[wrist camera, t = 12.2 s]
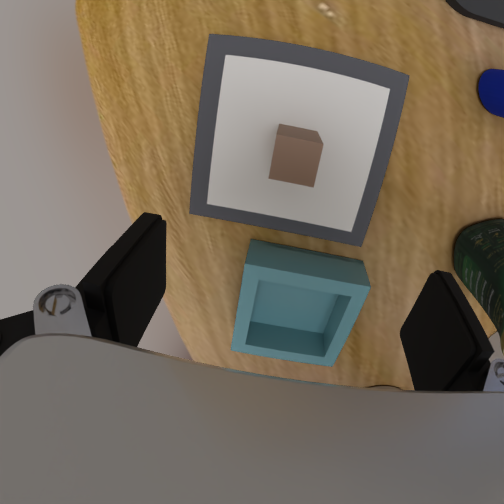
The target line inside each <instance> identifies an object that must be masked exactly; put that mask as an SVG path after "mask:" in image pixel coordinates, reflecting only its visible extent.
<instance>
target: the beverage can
mask: <svg viewBox="0 0 504 504" xmlns="http://www.w3.org/2000/svg"><path fill="white" fill-rule="evenodd" d="M479 95H480V99H481V101H482V103H483V105H484V107H485V108H486V109H487V110H488V111H489V112H490V113H492V114H494V115H497V116H500V117H503V118H504V70H499V69H489V70H487V71H485V72H484V73H483V74H482V76H481V78H480V81H479Z"/></svg>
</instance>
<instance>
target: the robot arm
mask: <svg viewBox="0 0 504 504" xmlns="http://www.w3.org/2000/svg"><path fill="white" fill-rule="evenodd" d="M165 289H166V221H165V220H162V217H161V215H157V214H152V213H146V212H144V213H143V214H142V215H141V216H140V217H139V218H138V219H137V220H136V221H135V222H134V223H133V224H132V225H131V226H130V227H129V228H128V230H127V231H126V232H125V233H124V234H123V235H122V236H121V237H120V238H119V239H118V240H117V241H116V243H115V244H114V245H113V246H111V247H110V248H109V249H108V251H106V253H105V254H104V255H103V256H102V257H101V258H100V259H99V260H98V262H97V263H96V264H95V265H94V266H93V267H92V269H91V270H90V271H89V272H88V273H87V274H86V275H85V277H84V278H83V279H82V280H81V281H80V282H79V284H78V285H77V286H76V287H72V286H70V285H63V284H60V285H54V286H51V287H48V288H46V289H44V290H43V291H41V292H40V293H39V294H38V295H37V297H36V298H35V300H34V305H33V311H29V312H26V313H22V314H18V315H15V316H11V317H8V318H4V319H1V320H0V504H504V359H500V358H498V359H494V360H493V361H492V362H491V363H490V361H489V358H490V357H491V356H492V354H493V353H494V352H495V351H494V349H493V347H492V345H491V343H490V341H489V339H488V337H487V335H486V333H485V331H484V329H483V328H482V326H481V324H480V322H479V320H478V318H477V316H476V315H475V313H474V311H473V309H472V307H471V306H470V304H469V302H468V300H467V299H466V297H465V295H464V294H463V292H462V290H461V289H460V287H459V285H458V284H457V282H456V280H455V279H454V277H453V276H452V274H451V273H449V272H444V271H440V270H436V271H435V272H434V273H431V274H430V275H429V277H428V279H427V281H426V283H425V285H424V287H423V289H422V291H421V293H420V295H419V297H418V299H417V300H416V302H415V304H414V306H413V308H412V310H411V311H410V313H409V315H408V317H407V319H406V320H405V322H404V324H403V326H402V328H401V330H400V338H401V341H402V345H403V348H404V352H405V355H406V359H407V362H408V366H409V370H410V374H411V377H412V381H413V385H414V389H415V391H414V390H401V389H398V388H396V387H391V386H377V387H370V388H364V387H353V386H343V385H333V384H324V383H316V382H308V381H301V380H293V379H287V378H280V377H274V376H267V375H261V374H255V373H250V372H244V371H239V370H234V369H228V368H223V367H219V366H214V365H209V364H204V363H200V362H195V361H191V360H186V359H182V358H178V357H174V356H170V355H165V354H161V353H157V352H154V351H150V350H145V349H142V348H138V347H137V346H138V344H139V341H140V340H141V338H142V336H143V334H144V332H145V330H146V328H147V326H148V324H149V322H150V320H151V318H152V316H153V314H154V312H155V310H156V309H157V306H158V305H159V303H160V301H161V299H162V297H163V295H164V293H165Z"/></svg>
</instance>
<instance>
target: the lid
mask: <svg viewBox="0 0 504 504" xmlns="http://www.w3.org/2000/svg"><path fill="white" fill-rule="evenodd" d="M389 92H390V89H389V88H385V87H382V86H379V85H376V84H373V83H369V82H366V81H362V80H359V79H355V78H352V77H348V76H344V75H340V74H336V73H332V72H328V71H323V70H319V69H314V68H310V67H305V66H300V65H295V64H289V63H284V62H278V61H271V60H265V59H258V58H250V57H242V56H233V55H226V56H225V62H224V69H223V75H222V82H221V89H220V96H219V104H218V111H217V119H216V127H215V135H214V143H213V152H212V160H211V169H210V179H209V188H208V198H207V204H210V205H216V206H222V207H227V208H233V209H238V210H244V211H249V212H255V213H260V214H265V215H270V216H276V217H281V218H286V219H291V220H296V221H301V222H306V223H311V224H316V225H321V226H325V227H330V228H335V229H340V230H344V231H349V232H351V231H352V228H353V225H354V222H355V219H356V216H357V212H358V209H359V206H360V203H361V199H362V196H363V193H364V189H365V186H366V182H367V179H368V175H369V172H370V168H371V165H372V161H373V157H374V154H375V150H376V146H377V142H378V138H379V134H380V130H381V126H382V122H383V118H384V114H385V110H386V105H387V101H388V96H389Z"/></svg>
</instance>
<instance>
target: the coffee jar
mask: <svg viewBox="0 0 504 504" xmlns="http://www.w3.org/2000/svg"><path fill="white" fill-rule="evenodd" d="M454 268H455V272H456V274H457V275H458V277H459V278H460V279H461V281H462V282H463V283H464V285H465V286H466V287H467V289H468V290H469V291H470V292H471V293H472V295H473V296H474V297H475V298H476V300H477V301H478V302H479V303H480V305H481V306H482V308H483V309H484V310H485V312H486V313H487V315H488V316H489V318H490V319H491V320H492V322H493V324H494V325H495V327H496V329H497V331H498V333H499V336H500V344H501V350H502V353H503V356H504V219H496V220H489V221H485V222H481V223H478V224H475V225H473V226H470V227H468V228H466V229H465V230H464V231H462V233H461V234H460V236H459V237H458V239H457V241H456V245H455V250H454Z"/></svg>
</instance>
